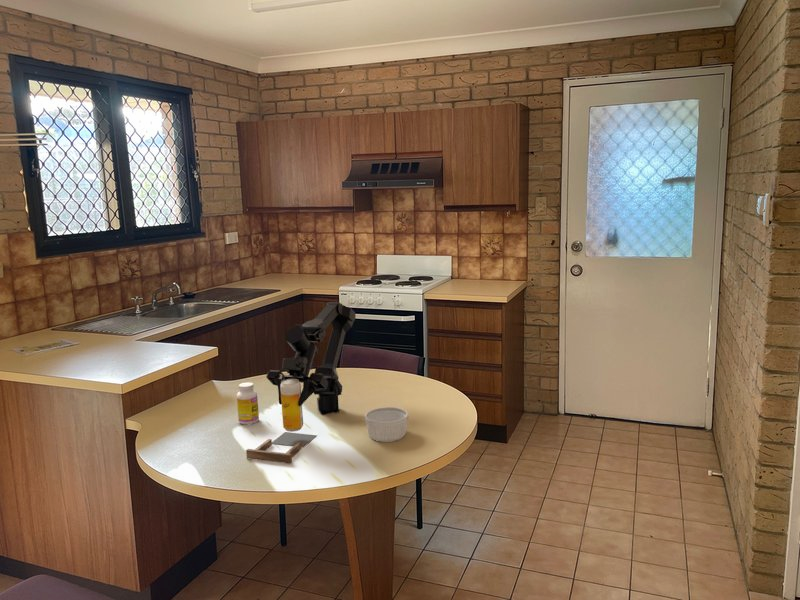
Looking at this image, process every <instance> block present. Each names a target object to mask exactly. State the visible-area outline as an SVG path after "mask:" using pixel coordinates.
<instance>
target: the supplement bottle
mask: <svg viewBox="0 0 800 600" xmlns="http://www.w3.org/2000/svg"><path fill="white" fill-rule="evenodd" d="M254 387H255V385H254V383H253V382H242V383H240V384H238V390H239V391H238V392H237V393H236V406H237V407H236V408H237V418H238V419H237V421H238V422H239V424H241V425H252V424H253V425H254V424H255V423H257V422H259V420H260V415H259V403H258V402H259V401H258V392H257V391H256V390H254Z"/></svg>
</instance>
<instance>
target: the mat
mask: <svg viewBox="0 0 800 600" xmlns="http://www.w3.org/2000/svg"><path fill="white" fill-rule="evenodd" d="M316 437H317V435H316V434H308V433H301V432H300V433H299V432H290V431H284V432H283V433H282V434H281V435H279V436H278V437H276V438H275V439H274V440H272V445H277V444H278V446H279V445H280V446H287V447H293V446H294V445H296V444H297V443H298V442H301V443H302V448H305V446H307V445H308V444H309V443H310V442H311V441H312V440H314V439H315V438H316Z"/></svg>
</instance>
